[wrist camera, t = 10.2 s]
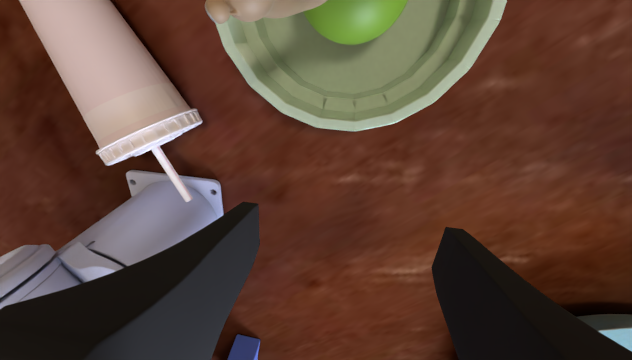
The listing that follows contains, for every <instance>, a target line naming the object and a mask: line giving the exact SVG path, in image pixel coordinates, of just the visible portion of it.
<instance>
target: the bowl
mask: <svg viewBox="0 0 632 360" xmlns="http://www.w3.org/2000/svg"><path fill="white" fill-rule="evenodd" d="M506 2H507V0H408V2H407V4H406V6H405V8H404V10H403V12H402V13H401V15H400V16H399V18H398V19H397V20H396V21H395V23H394V24H393V25H392V26H391V27H390V28H389V29H388V30H387V31H385V32H384V33H383V34H381V35H380V36H378V37H377V38H375V39H373V40H371V41H368V42H365V43H361V44H354V45H347V44H340V43H336V42H333V41H331V40H329V39H327V38H325V37H324V36H322V35H321V34H320V33H318V32H317V31H316V30H315V29H314V28H313V27H312V25H311V24H310V23H309V21H308V20H307V18H306V17H305V15H304V13H303V12H300V13H297V14H294V15H291V16H288V17H284V18H265V17H263V18H261V19H259V20H257V21H253V22H244V21H240V20H238V19H236V18H235V17H233V16H232V15H230V16H229V19H228V20H227V21H226V22H225V23H223V24H218V23H216V26H217V29H218V32H219V35H220V38H221V40H222V43H223V46H224V48H225V50H226V52H227V53H228V55H229V56H230V58H231V59H232V61H233V62H234V64H235V65H236V66H237V68H238V69H239V71H240V72H241V74H242V75H243V77H244V78H245V80H246V81H247V83H248V84H249V85H250V86H251V87H252V88H253V89H254V90H255V91H256V92H258V93H259V94H260V95H261V96H262V97H263V98H265V99H266V100H267V101H268V102H269V103H271V104H272V105H273V106H274V107H275V108H277V109H278V110H279V111H280V112H282V113H283V114H286V115H288V116H290V117H293V118H295V119H297V120H300V121H302V122H304V123H307V124H309V125H311V126H314V127H317V128H324V129H334V130H344V131H361V130H366V129H371V128H375V127H380V126H385V125H390V124H394V123H397V122H399V121H401V120H402V119H404V118H406V117H408V116H410V115H412V114H414V113H416V112H418V111H419V110H421V109H423V108H425V107H427V106H429V105H431V104H432V103H433V102H435V101H436V100H437V99H439V98H440V97H441V96H442V95H443V94H444V93H445V92H446V91H447V90H448V89H449V88H450V87H451V86H452V85H453V84H454V83H456V82H457V81H458V80H459V79H460V78H461V77H462V76H463V75H464V74H465V73H466V72H467V71H468V70H469V68H471V67H472V65H473V63H474V62H475V60H476V59H477V57H478V55H479V54H480V52H481V51H482V49H483V48H484V46H485V44H486V43H487V41H488V40H489V38H490V36H491V35H492V33H493V32H494V30H495V29H496V27H497V25H498V24H499V22H500V21H499V20H501V17H502V14H503V11H504V8H505V5H506Z"/></svg>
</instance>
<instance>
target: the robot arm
mask: <svg viewBox="0 0 632 360" xmlns="http://www.w3.org/2000/svg"><path fill="white" fill-rule="evenodd" d="M178 176H179V177H180V179H181V180H182V182H183V183H184V185H185V186H186V188H187V189H188V191H189V193H190V194H191V196H192V197H193V199H192V200H190V201H188V202H185V200H184V199H183V197H182V196H181V194H180V193H179V191H178V190H177V188H176V187H175V185H174V184H173V182H172V181H171V179H170V178H169V176H168V175H167V174H164V173H156V172H147V171H139V170H130V171H128V172H127V173H126V178H127V181H128V185H129V188H130V192H131V196H132V198H130V199H129V200H127V201H126V202H125V203H123V204H122V205H120V206H119V207H118V208H116V209H115V210H113V211H112V212H111V213H109V214H108V215H106V216H105V217H104V218H102V219H101V220H100V221H98V222H97V223H95V224H94V225H93V226H91V227H90V228H88V229H87V230H86V231H84V232H83V233H81V234H80V235H79V236H77V237H76V238H74V239H73V240H72V241H70V242H69V243H67V244H66V245H65V246H63V247H62V248H60V249H59V250H57V251H54V250H53V249H52V247H51V246H50V245H48V244H43V245H39V246H38V245H24V246H22V247H19V248H17V249H15V250H13V251H11V252H9V253H7V254H5V255H3V256H2V257H0V360H211V357H212V355H213V352H214V349H215V347H216V344H217V341H218V339H219V336H220V333H221V331H222V329H223V326H224V324H225V322H226V319H227V317H228V315H229V313H230V311H231V309H232V307H233V305H234V303H235V301H236V299H237V297H238V295H239V293H240V291H241V289H242V287H243V285H244V283H245V281H246V279H247V277H248V274H249V272H250V270H251V268H252V266H253V263H254V260H255V257H256V254H257V251H258V248H259V245H260V239H259V210H258V204H256V203H248V202H242V203H241V204H239V205H238V206H236V207H235V208H233V209H232V210H230V211H229V212H227V213H226V214H224V213H223V204H222V194H221V185H220V183H219V182H218V181H217V180H214V179H206V178H198V177H189V176H181V175H178ZM133 180H134V181H135V182H136V183H135V182H134V181H133ZM212 189H213V190H215V191H216V192H217V193H215V192H214V191H213V190H212ZM432 273H433V278H434V284H435V289H436V293H437V296H438V300H439V303H440V306H441V309H442V312H443V315H444V318H445V320H446V323H447V326H448V329H449V332H450V335H451V338H452V341H453V344H454V347H455V350H456V353H457V356H458V359H459V360H632V351H630V350H628V349H627V348H625V347H623V346H622V345H620V344H618V343H617V342H615V341H613V340H612V339H610V338H608V337H607V336H605V335H603V334H602V333H600V332H599V331H597V330H595V329H594V328H592V327H591V326H589V325H588V324H586V323H584V322H583V321H581V320H580V319H578V318H577V317H575V316H574V315H573V314H571V313H570V312H568V311H567V310H565V309H564V308H562V307H561V306H559V305H558V304H556V303H555V302H554V301H552V300H551V299H549V298H548V297H547V296H545V295H544V294H543V293H541V292H540V291H539V290H537V289H536V288H535V287H533V286H532V285H531V284H529V283H528V282H527V281H525V280H524V279H523V278H522V277H520V276H519V275H518V274H517V273H515V272H514V271H513V270H512V269H510V268H509V267H508V266H507V265H506V264H504V263H503V262H502V261H501V260H500V259H498V258H497V257H496V256H495V255H494V254H492V253H491V252H490V251H489V250H488V249H487V248H485V247H484V246H483V245H482V244H481V243H480V242H478V241H477V240H476V239H475V238H474V237H472V236H471V235H470V234H469V233H467V232H466V231H464V230H463V229H457V228H449V227H446V228H445V231H444V234H443V237H442V240H441V242H440V245H439V248H438V251H437V254H436V257H435V260H434V262H433V265H432Z"/></svg>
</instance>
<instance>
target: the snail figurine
mask: <svg viewBox="0 0 632 360" xmlns="http://www.w3.org/2000/svg"><path fill="white" fill-rule="evenodd" d="M407 2H408V0H206V3H205V9H206V12H207V14H208V16H209V17H210V18H211V20H212V21H214V22H215V23H218V24H223V23H225V22H226V21H227V20H228V19H229V16H230V15H232V16H233V17H235V18H236V19H238V20H240V21H244V22H253V21H257V20H259V19H261V18H263V17H265V18H284V17H288V16H291V15H294V14H297V13H300V12H303V13H304V15H305V17H306V18H307V20H308V21H309V23H310V24H311V25H312V27H313V28H314V29H315V30H316V31H317V32H318V33H320V34H321V35H322V36H324V37H325V38H327V39H329V40H331V41H333V42H336V43H340V44H347V45H354V44H361V43H365V42H368V41H371V40H373V39H375V38H377V37H378V36H380V35H381V34H383V33H384V32H385V31H387V30H388V29H389V28H390V27H391V26H392V25H393V24H394V23H395V21H396V20H397V19H398V18H399V16H400V15H401V13H402V12H403V10H404V8H405V6H406V4H407Z"/></svg>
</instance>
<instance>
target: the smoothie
mask: <svg viewBox="0 0 632 360" xmlns="http://www.w3.org/2000/svg"><path fill="white" fill-rule="evenodd" d="M19 1H20V3H21V5H22V7H23V9H24V10H25V12H26V14H27V16H28V18H29V20H30V21H31V23H32V25H33V27H34V29H35V31H36V32H37V34H38V36H39V38H40V40H41V42H42V43H43V45H44V47H45V49H46V51H47V53H48V54H49V56H50V58H51V60H52V62H53V64H54V65H55V67H56V69H57V71H58V73H59V74H60V76H61V78H62V80H63V82H64V84H65V85H66V87H67V89H68V91H69V93H70V95H71V96H72V98H73V100H74V102H75V104H76V106H77V107H78V109H79V111H80V113H81V115H82V117H83V119H84V121H85V123H86V124H87V126H88V128H89V130H90V131H91V133H92V135H93V137H94V138H95V140H96V142H97V144H98V146H99V148H100V149H98V150H97V151H96V154H98V155H99V156H100V157H101V159H102V160H103V162H104V163H105V165H108V166H109V165H113V164H115V163H118V162H120V161H123V160H125V159H127V158H130V157H132V156H135V157H136V156H138V155H141V154H143V153H145V152H148V151H150V150H151V151H152V152H153V154H154V155H155V157H156V158H157V160H158V161H159V163H160V164H161V166H162V167H163V169H164V170H165V172H166V173H167V175H168V176H169V178H170V179H171V181H172V182H173V184H174V185H175V187H176V188H177V190H178V191H179V193H180V194H181V196H182V197H183V199H184V200H185V202H188V201H190V200H192V199H193V197H192V196H191V194H190V193H189V191H188V189H187V188H186V186H185V185H184V183H183V182H182V180H181V179H180V177H179V176H178V174H177V173H176V171H175V169H174V168H173V166H172V165H171V163H170V162H169V160H168V159H167V157H166V156H165V154H164V152H163V151H162V149H161V148H160V145H163V144H164V143H167V142H169V141H171V140H173V139H175V138H176V137H178V136H179V135H182V133H184V132H186V131H188V130H190V129H192V128H194V127H196V126H198V125H200V124H201V123H202V119H201V117H200V116H199V114H198V112H197V109H195V108H193V109H191V108H190V107H189V106H188V105H187V103H186V102H185V100H184V99H183V98H182V96H181V95H180V93H179V92H178V91H177V89H176V88H175V86H174V85H173V84H172V83H171V81H170V80H169V79H168V77H167V76H166V75H165V73H164V72H163V71H162V69H161V68H160V67H159V65H158V64H157V63H156V61H155V60H154V59H153V57H152V56H151V55H150V53H149V52H148V51H147V49H146V48H145V46H144V45H143V44H142V42H141V41H140V40H139V38H138V37H137V36H136V34H135V33H134V32H133V30H132V29H131V28H130V26H129V25H128V24H127V22H126V21H125V20H124V18H123V17H122V16H121V14H120V13H119V12H118V10H117V9H116V8H115V6H114V5H113V3H112V2H111V1H110V0H19Z"/></svg>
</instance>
